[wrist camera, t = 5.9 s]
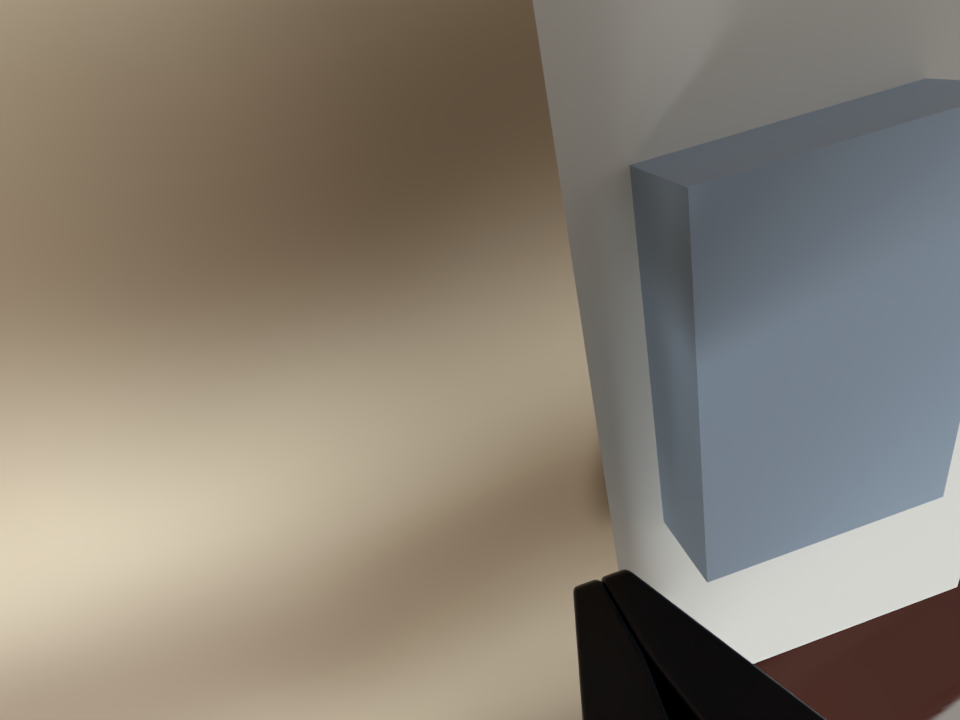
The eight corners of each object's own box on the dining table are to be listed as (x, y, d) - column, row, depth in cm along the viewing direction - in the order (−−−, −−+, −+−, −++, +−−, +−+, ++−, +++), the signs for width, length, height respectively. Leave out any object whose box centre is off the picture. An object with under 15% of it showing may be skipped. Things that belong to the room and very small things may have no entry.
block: (707, 582, 13) (663, 521, 15) (943, 496, 14) (875, 447, 16) (688, 187, 9) (629, 165, 11) (1035, 84, 10) (925, 78, 11)
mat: (948, 579, 20) (957, 586, 20) (615, 705, 19) (619, 714, 19) (1247, -579, 8) (1277, -600, 8) (405, -424, 7) (408, -442, 7)
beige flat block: (592, 673, 18) (656, 822, 15) (228, 808, 17) (204, 1003, 13) (410, -197, 8) (476, -378, 5) (-489, 2, 7) (-1272, -43, 4)
